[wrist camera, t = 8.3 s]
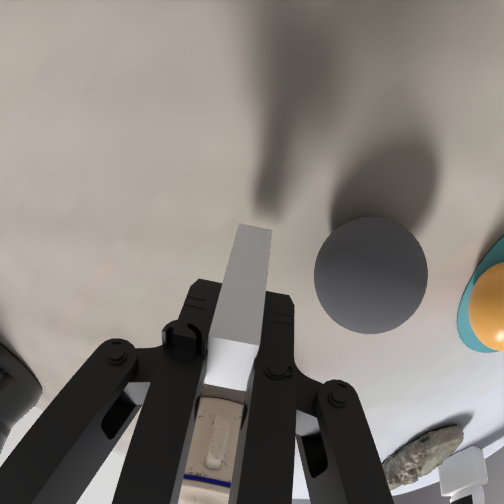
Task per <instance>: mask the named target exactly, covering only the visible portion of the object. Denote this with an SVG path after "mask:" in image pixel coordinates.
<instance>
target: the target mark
mask: <svg viewBox="0 0 504 504" xmlns="http://www.w3.org/2000/svg"><path fill="white" fill-rule="evenodd" d="M502 262H504V236H503V237H502V238H501V239H500V240H499V241H498V242H497V243H496V244H495V245H494V246H493V247H492V249H491V250H490V251H489V252H488V253H487V255H486V256H485V257H484V259H483V260H482V261H481V263H480V264H479V266H478V267H477V269H476V270H475V272H474V273H473V275H472V277H471V279H470V281H469V283H468V284H467V286H466V289H465V291H464V293H463V295H462V298H461V302H460V305H459V309H458V314H457V328H458V332H459V335H460V338H461V339H462V341H463V343H464V344H465V345H466V346H467V347H469V348H471V349H472V350H475V351H478V352H485V353H488V352H498V351H497V350H493V349H491V348H489V347H487V346H485V345H484V344H483V343H482V342H481V341H480V340H479V339H478V338H477V337H476V335H475V334H474V332H473V330H472V327H471V324H470V321H469V313H468V306H469V299H470V295H471V292H472V289H473V287H474V285H475V283H476V281H477V280H478V279H479V277H480V276H481V275H482V274H483V273H484V272H485V271H486V270H487V269H489V268H490V267H492V266H494V265H496V264H498V263H502Z"/></svg>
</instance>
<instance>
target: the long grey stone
mask: <svg viewBox="0 0 504 504" xmlns="http://www.w3.org/2000/svg"><path fill="white" fill-rule="evenodd" d="M463 435H464V433H463V431H462V429H461V427H460V426H451V427H447V428H444V429H440V430H437V431H430V432H428V433H427V434H426V435H424V436H422V437H420V438H419V439H417V440H415V441H413V442H411V443H409V444H407V445H405V446H404V447H403V448H402V449H400V450H399V451H398V452H397V453H395V454H393V455H389V458H388V459H386V460H385V462H384V463H383V464H382V467H383V470H384V473H385V476H386V479H387V483H388V486H389V489H390V491H391V490H393V489H395V488H397V487H399V486H400V485H402V484H403V485H406V484H411V483H414V482H416V481H418V478H419V477H421V476H423V475H427V474H429V473H430V472H431V471H432V470H433V469H435V468H436V467H438V466H439V465H442V463H443V461H444V460H445V459H446V458H447V457H449V456H450V455H451V454H452V453H453V452H454V451H455V450H456V449H457V447H458V446H459V445H460V444H461V443H462V441H463Z"/></svg>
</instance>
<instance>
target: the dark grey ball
mask: <svg viewBox="0 0 504 504" xmlns="http://www.w3.org/2000/svg"><path fill="white" fill-rule="evenodd" d="M427 279H428V269H427V262H426V258H425V255H424V252H423V250H422V248H421V246H420V244H419V242H418V241H417V240H416V238H415V237H414V236H413V234H412V233H411V232H409V231H408V230H407V229H406V228H405V227H403V226H402V225H400V224H398V223H397V222H395V221H392V220H390V219H387V218H383V217H375V216H367V217H360V218H357V219H353V220H351V221H349V222H346V223H345V224H343V225H341V226H340V227H338V228H337V229H336V230H334V231H333V232H332V233H331V234H330V236H329V237H328V238H327V239H326V241H325V242H324V243H323V245H322V247H321V249H320V251H319V253H318V256H317V259H316V263H315V269H314V283H315V289H316V293H317V296H318V299H319V301H320V303H321V305H322V307H323V308H324V310H325V311H326V313H327V314H328V315H329V316H330V317H331V318H332V319H333V320H334V321H335V322H336V323H338V324H339V325H341V326H342V327H344V328H346V329H348V330H351V331H354V332H357V333H362V334H378V333H383V332H386V331H390V330H392V329H394V328H396V327H398V326H400V325H401V324H403V323H404V322H405V321H407V320H408V319H409V318H410V317H411V316H412V315H413V314H414V312H415V311H416V310H417V308H418V307H419V305H420V303H421V301H422V299H423V297H424V294H425V291H426V287H427Z"/></svg>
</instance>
